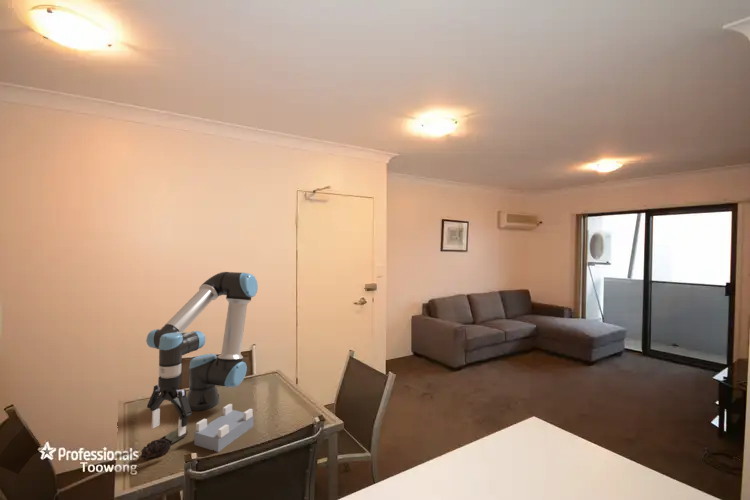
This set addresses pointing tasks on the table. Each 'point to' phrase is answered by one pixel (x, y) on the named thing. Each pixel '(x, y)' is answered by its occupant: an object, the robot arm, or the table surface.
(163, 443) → the brown lumpy club
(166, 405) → the table surface
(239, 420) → the grey block with tabs
